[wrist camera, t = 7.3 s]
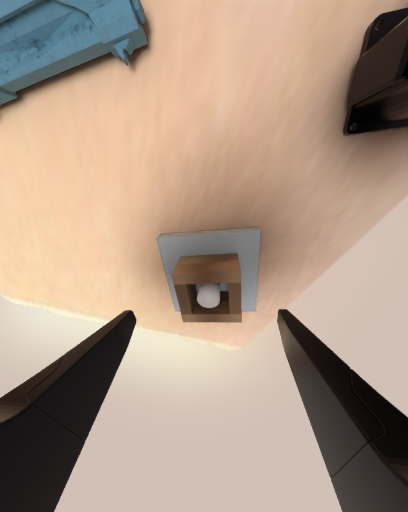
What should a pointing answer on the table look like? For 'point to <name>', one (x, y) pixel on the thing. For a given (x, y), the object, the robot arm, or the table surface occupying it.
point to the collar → (208, 272)
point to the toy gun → (62, 37)
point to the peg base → (209, 244)
